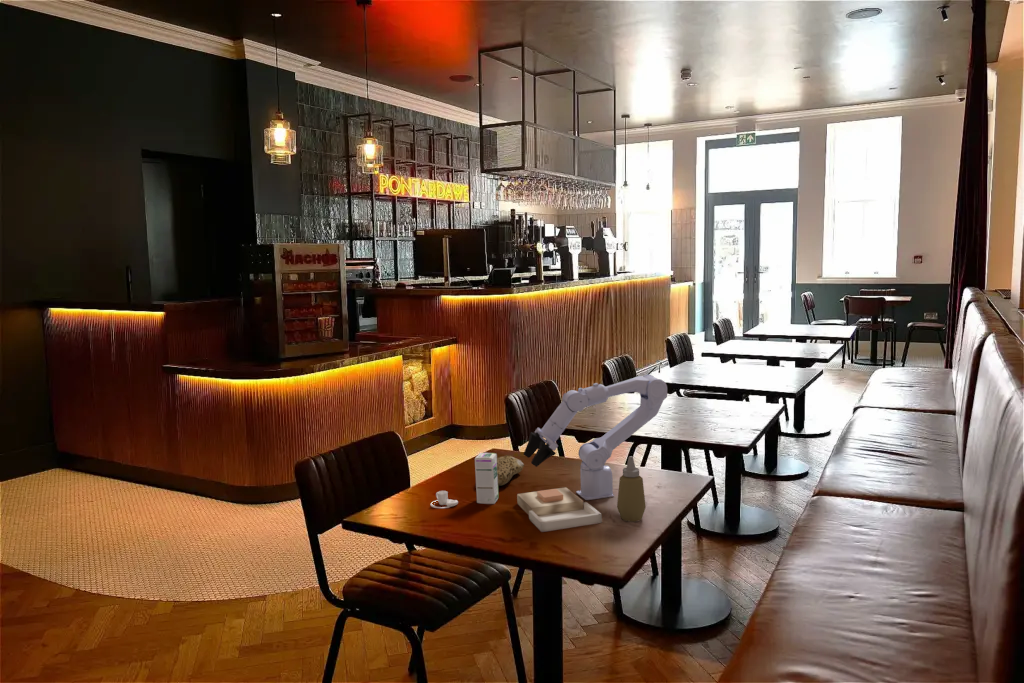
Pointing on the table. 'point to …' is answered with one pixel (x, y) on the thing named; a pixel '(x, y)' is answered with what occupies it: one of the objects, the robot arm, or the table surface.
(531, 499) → the platform
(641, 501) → the squeeze bottle
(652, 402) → the robot arm
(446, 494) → the teacup and saucer
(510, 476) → the sponge
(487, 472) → the syrup box
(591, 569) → the table surface
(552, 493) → the tile
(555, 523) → the tray
